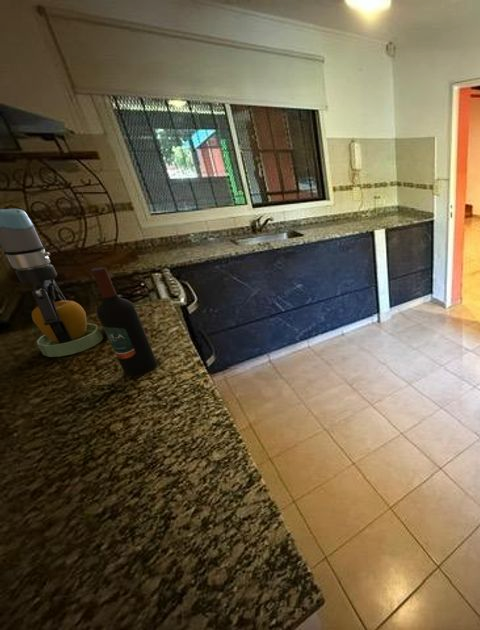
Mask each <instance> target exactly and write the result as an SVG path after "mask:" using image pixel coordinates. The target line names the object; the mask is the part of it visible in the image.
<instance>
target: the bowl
mask: <svg viewBox="0 0 480 630" xmlns="http://www.w3.org/2000/svg"><path fill="white" fill-rule="evenodd" d="M103 339H104V336H103V334H102V331H101V329H100V327H99V325H98V324H95V323H87V327H86V333H85V336H83V337H82V338H80V339H77V340H74V341H70V342H67V343H61V344H58V343H55V342H53V341H52V340H50V339H49V338H48V337H47V336H45V334H43V335H42V336H40V337H39V338H38V339H37V340H36V345H37V347H38V348H39V350H40V352H41V354H42V355H43V356H45V357H49V358H59V357H64V356H65V357H66V356H70V355H71V356H72V355H75V354H78V353H81V352H83V351H86V350H88V349H91V348H93V347H95V346H96V345H98V344H100V343H101V342H102V341H103Z"/></svg>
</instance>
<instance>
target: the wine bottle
mask: <svg viewBox="0 0 480 630" xmlns="http://www.w3.org/2000/svg"><path fill="white" fill-rule="evenodd" d="M90 272H91V274H92V277H93V278H94V281H95V282H96V285H97V287H98V289H99V292H100V294H101V296H102V302H101V303H100V304H99V305H98V306H97V309H96V316H97V315H98V317H99V319H100V322H101V324H102V325H101V324H100V325H101V326H102V328H103V330H104V332H105V335H106V336H107V339H108V341H109V343H110V345H111V347H112V350H113V352H114V354H115V356H116V359H117V360H118V363H119V364H120V366H121V369H122V371H123V373H124V375H125V376H126V377H139V376H143V375H146V374H148V373H150V372H152V371H153V370H155V369H156V368H157V367H158V365H159V363H158V361H157V358H156V356H155V353H154V351H153V348H152V346H151V343H150V341H149V337H148V336H147V334H146V331H145V329H144V326H143V324H142V321H141V319H140V317H139V314H138V311H137V309H136V307H135V306H136V305H134V303H133V302H132V301H130V300H128V299H126V298H123V297H120V296H119V295H118V294H117V291H116V290H115V287H114V283H113V282H112V280H111V277H110V275H109V271H108V269H107V268H106V267H105V266H99V267H94V268H91V269H90ZM100 322H99V323H100Z"/></svg>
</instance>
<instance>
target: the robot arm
mask: <svg viewBox="0 0 480 630" xmlns="http://www.w3.org/2000/svg"><path fill="white" fill-rule="evenodd" d="M0 247H1V249H2V251H3V252H4V254H5V256H6V258H7V260H8V261H9V264H10V266H11V267H12V269H15V272H14V273H15V274H16V276H17V278H18V279H19V281H20V282H21V283H23V284H32V285H33V287H32V290H31V294H32V296H33V298H34V299H35V302H36V304H37V306H38V307H39V309H40V311H41V314H42V316H43V319H44V321H45V323H44V325H50V327H51V329H52V330H53V332H54V334H55V336H56V338H57V340H58V342H59V343H64V342H69V341H72V338H71V336H70V335H69V333H68V331H67V329H66V327H65V325H64V323H63V321H61V320H60V317H59V314H58V311H57V308H56V305H55V302H56V301H65V300H67V299H66V297H65V295H64V293H63V292H62V291H61V289H60V287H59V286H58V284H57V282H56V281H55V278H57V277H58V273H57V271H56V269H55V267H54V265H53V264H51V259H50V256H51V253H50V252H47V251H46V250H45V247H44V245H43V244H42V241H41V239H40V237H39V234H38V232H37V231H36V228H35V226H34V223H33V222H32V220H31V218H30V217H29V216H28V214H27V212H26V211H25V210H23V209H20V208H1V209H0ZM50 319H52V320H50Z"/></svg>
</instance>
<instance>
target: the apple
mask: <svg viewBox="0 0 480 630" xmlns="http://www.w3.org/2000/svg"><path fill="white" fill-rule="evenodd" d="M55 305H56V308H57V311H58V314H59V317H60V320H61V321H63V323H64V325H65V327H66V329H67V331H68V333H69V335H70V336H71V338H72V341H74V340H77V339H80V338H82V337H83V336H85V333H86V327H87V324H88V323H87V312H86V311H85V309H84V308H83V306H82V305H81V304H79V303H77V302H76V301H74V300H67V299H66V300H65V301H56V302H55ZM31 318H32V322H33V323H34V324H35V325H36V327H37V328H38V329H39V331H41V332H42V334H43V335H45V336H47V337H48V338H49V339H50V340H52V341H53V342H55V343H58V344H61V343H59V342H58V340H57V338H56V336H55V334H54V332H53V330H52V329H51V327H50V325H44V323H45V321H44V319H43V316H42V314H41V311H40V309H39V307H38V305H37V306H35V308H34V309H33V310H32V311H31ZM50 320H52V319H50ZM69 342H70V341H69ZM64 343H67V342H64Z"/></svg>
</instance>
